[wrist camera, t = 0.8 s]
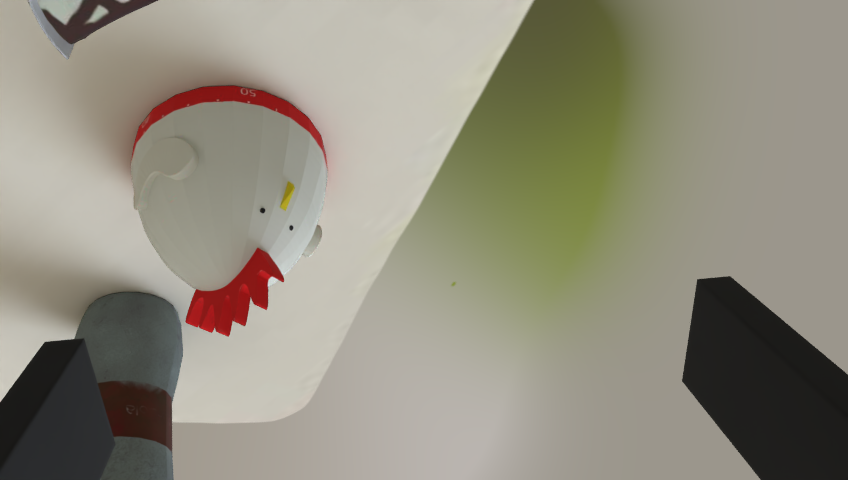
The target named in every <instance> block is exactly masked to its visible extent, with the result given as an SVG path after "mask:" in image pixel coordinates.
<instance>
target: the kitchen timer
mask: <svg viewBox="0 0 848 480" xmlns="http://www.w3.org/2000/svg"><path fill="white" fill-rule="evenodd" d="M327 173H328V169H327V161H326V154H325V150H324V146H323V142H322V138H321V135H320V134H319V132H318V131H317V129H316V128H315V126H314V125H313V124H312V122H311V121H310V119H309V118H308V117H307V116H306V115H304V114H303V113H302V112H301V111H299V110H298V109H297V108H295V107H294V106H293V105H292V104H290V103H289V102H287V101H285V100H282V99H280V98H278V97H276V96H273V95H271V94H269V93H266V92H264V91H260V90H255V89H249V88H244V87H238V86H214V87H201V88H198V89H194V90H191V91H188V92H184V93H181V94H177V95H175V96H173V97H172V98H170V99H168V100H167V101H165V102H164V103H162V104H160V105H159V106H157V107H156V108H154V109H153V110H152V111H151V112H150V114H149V115H148V116H147V117H146V119H145V120H144V121H143V122H142V124H141V125H140V126H139V129H138V132H137V136H136V139H135V143H134V146H133V153H132V159H131V175H132V182H133V189H134V208H135V209H136V210H138V211H139V214H140V217H141V221H142V224H143V227H144V230H145V232H146V234H147V236H148V238H149V240H150V242H151V243H152V245H153V246H154V248H155V250H156V251H157V253H158V254H159V256H160V258H161V259H162V260H163V262H164V263H165V264H166V266H167V267H168V268H169V269H170V270H171V271H172V272H173V273H174V274H176V275H177V276H178V277H179V278H181V279H182V280H183V281H184V282H185V283H187V284H188V285H190V286H191V287H193V288H195V289H196V291H195V293H194V296H193V298H192V301H191V304H190V307H189V310H188V313H187V317H186V323H188V324H190V325H193V326H195V327H198V326H199V328H201V329H204V330H206V331H208V332H211V333H212V332H213V330H214V328H215V329H216V332H218V333H221V334H223V335H226V336H229V335H230V331H231V326H232V321H234V322H237V323H239V324H241V325H244V326H245V325H246V322H247V316H248V311H249V304H250V297H251V299H252V301H253V303H254V304H255V305H257V306H259V307H261V308H263V309H265V310H267V307H268V287H269V286H271V285H273V284H274V283H275V282H276V281H278V280H280V281H282V282H284V278H283V275H285V274H286V273H287V272H288V271H289V270H290V269H291V268H292V267H293V266H294V265H295V264H296V262H297V261H298V260H299V258H300V257H301V255H303V256H305V257H309V256H311V255H312V254H313V253H314V252H315V251H316V249H317V247H318V245H319V243H320V240H321V237H322V230H321V227H320V226H319V225H317V223H318V220H319V217H320V214H321V211H322V207H323V203H324V197H325V190H326V183H327Z"/></svg>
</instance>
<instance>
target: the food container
mask: <svg viewBox="0 0 848 480" xmlns="http://www.w3.org/2000/svg"><path fill="white" fill-rule="evenodd" d="M155 1H158V0H28V3H29V5H30V7H31V9H32V11H33V13H34V15H35V17H36V19H37V21H38V23H39V25H40V26H41V28H42V30H43V31H44V33H45V34H46V35H47V37H48V38H49V40H50V41H51V42H52V44H53V45H54V46H55V47H56V48H57V50H58V51H59V52H60V53H61V54H62V55H63V56H64V57H65V58H66V59H69V56H70V54H71V51H72V49H73V46H74V44H75V43H76V42H78V41H79V40H82V39H85V38H86V37H87V36H89V35H90V34H91V33H93V32H95V31H96V30H98V29H100V28H102V27H104V26H106V25H107V24H109V23H111V22H113V21H115V20H117V19H119V18H121V17H123V16H125V15H127V14H129V13H131V12H133V11H135V10H138V9H140V8H142V7H145V6H147V5H149V4H151V3H153V2H155Z"/></svg>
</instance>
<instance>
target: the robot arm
mask: <svg viewBox="0 0 848 480" xmlns="http://www.w3.org/2000/svg"><path fill="white" fill-rule="evenodd" d="M682 382H683V383H684V384H685V385H686V386H687V388H688V389H689V390H690V392H691V393H692V394H693V395H694V396H695V398H696V399H697V400H698V402H699V403H700V404H701V405H702V407H703V408H704V409H705V410H706V412H707V413H708V414H709V415H710V416H711V418H712V419H713V420H714V421H715V423H716V424H717V425H718V427H719V428H720V429H721V430H722V432H723V433H724V434H725V435H726V437H727V438H728V439H729V440H730V442H732V444H733V445H734V446H735V448H736V449H737V450H738V452H739V453H740V454H741V455H742V457H743V458H744V459H745V460H746V462H747V463H748V464H749V465H750V467H751V468H752V469H753V470H754V472H755V473H756V474H757V475H758V477H759V478H760V479H761V480H848V375H847V374H846V373H845V372H844V371H843V370H842V369H840V368H839V367H838V366H837V365H836V364H834V363H833V362H832V361H831V360H830V359H828V358H827V357H826V356H825V355H824V354H822V353H821V352H820V351H819V350H818V349H816V348H815V347H814V346H813V345H812V344H810V343H809V342H808V341H807V340H806V339H804V338H803V337H802V336H801V335H800V334H798V333H797V332H796V331H795V330H794V329H792V328H791V327H790V326H789V325H788V324H786V323H785V322H784V321H783V320H782V319H781V318H779V317H778V316H777V315H776V314H774V313H773V312H772V311H771V310H770V309H769V308H767V307H766V306H765V305H764V304H762V303H761V302H760V301H759V300H758V299H757V298H755V297H754V296H753V295H752V294H750V293H749V292H748V291H747V290H746V289H745V288H743V287H742V286H741V285H740V284H738V283H737V282H736V281H735V280H734V279H733V278H731V277H730V276H728V277H718V278H707V279H698V280H697V285H696V292H695V299H694V305H693V312H692V319H691V325H690V332H689V339H688V346H687V352H686V359H685V365H684V372H683V379H682ZM114 447H115V440H114V437H113V433H112V430H111V427H110V423H109V420H108V417H107V413H106V410H105V407H104V403H103V400H102V397H101V393H100V390H99V386H98V383H97V380H96V376H95V373H94V370H93V366H92V363H91V360H90V356H89V353H88V350H87V346H86V343H85V340H84V338H82V339H71V340H61V341H50V342H44V344H43V345H42V346H41V348H40V349H39V351H38V352H37V353H36V355H35V356H34V357H33V359H32V360H31V361H30V363H29V364H28V365H27V367H26V368H25V370H24V371H23V372H22V374H21V375H20V376H19V378H18V379H17V380H16V382H15V383H14V384H13V386H12V387H11V389H10V390H9V391H8V393H7V394H6V395H5V397H4V398H3V399H2V401H1V402H0V480H100V478H101V476H102V474H103V472H104V469H105V467H106V465H107V462H108V460H109V458H110V456H111V453H112V451H113V449H114Z"/></svg>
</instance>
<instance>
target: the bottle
mask: <svg viewBox="0 0 848 480" xmlns="http://www.w3.org/2000/svg"><path fill="white" fill-rule="evenodd" d="M82 338H84V340H85V343H86V346H87V350H88V353H89V356H90V360H91V363H92V366H93V370H94V373H95V376H96V380H97V383H98V386H99V390H100V393H101V397H102V400H103V403H104V407H105V410H106V413H107V417H108V420H109V423H110V427H111V430H112V433H113V437H114V440H115V447H114V449H113V451H112V453H111V456H110V458H109V460H108V462H107V465H106V467H105V469H104V472H103V474H102V476H101V478H100V480H174V479H173V463H172V401H173V397H174V393H175V389H176V385H177V381H178V376H179V372H180V367H181V362H182V357H183V345H182V332H181V323H180V320H179V316H178V313H177V311H176V310H175V308H174V307H173V305H171V304H170V303H168V302H167V301H166V300H164V299H161V298H159V297H156V296H154V295H150V294H144V293H139V292H122V293H116V294H110V295H107V296H104V297H102V298H99V299H97V300H96V301H95V302H93V303H92V304H91V305H90V306H89V307H88V309H87V311H86V313H85V314H84V316H83V318H82V320H81V322H80V324H79V327H78V330H77V333H76V336H75V339H82Z"/></svg>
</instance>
